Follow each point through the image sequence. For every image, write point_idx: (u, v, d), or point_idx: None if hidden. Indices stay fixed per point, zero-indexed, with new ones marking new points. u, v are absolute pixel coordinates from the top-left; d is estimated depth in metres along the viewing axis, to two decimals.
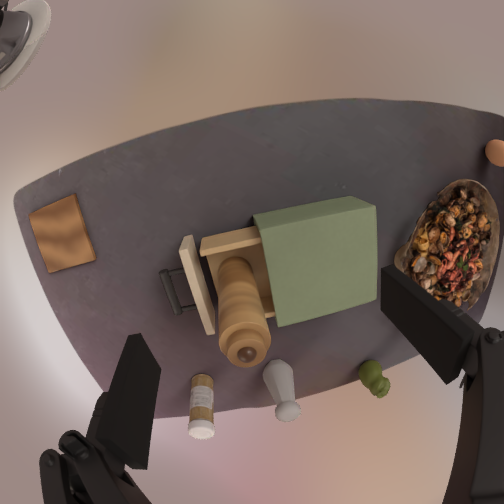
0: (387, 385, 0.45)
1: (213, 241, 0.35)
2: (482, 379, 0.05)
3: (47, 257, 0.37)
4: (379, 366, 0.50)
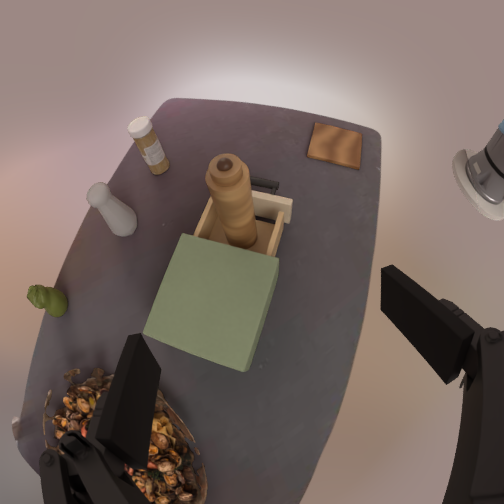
0: (35, 302, 0.35)
1: (281, 229, 0.42)
2: (482, 379, 0.05)
3: (326, 127, 0.55)
4: (55, 313, 0.40)
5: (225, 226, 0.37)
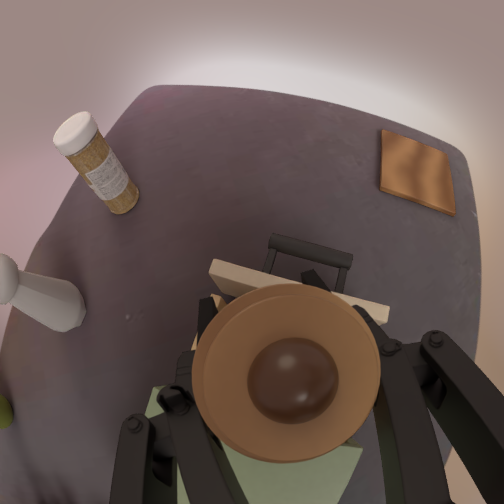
0: None
1: None
2: (385, 397, 0.07)
3: (400, 140, 0.31)
4: None
5: None
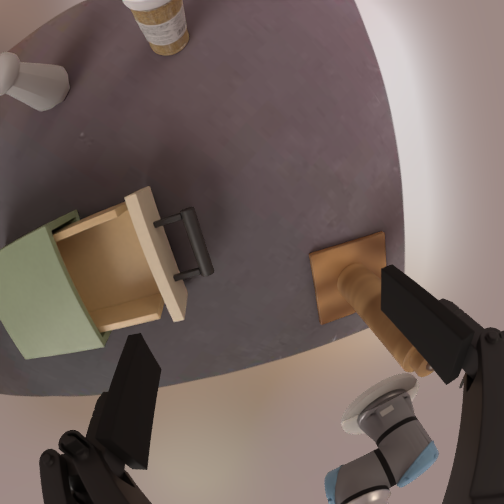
0: None
1: None
2: (482, 379, 0.05)
3: (378, 253, 0.34)
4: None
5: (363, 309, 0.28)
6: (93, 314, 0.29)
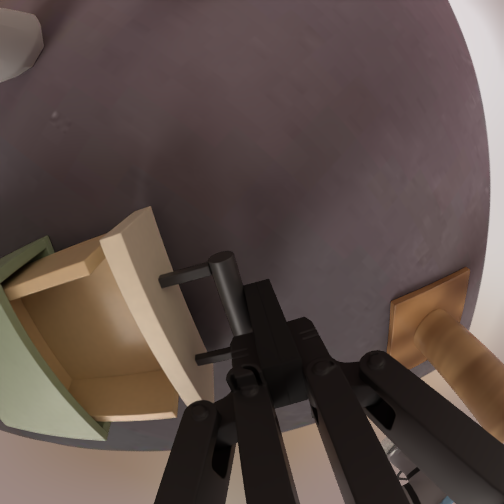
0: None
1: None
2: (323, 419, 0.07)
3: (460, 294, 0.23)
4: None
5: (455, 375, 0.17)
6: (78, 387, 0.18)
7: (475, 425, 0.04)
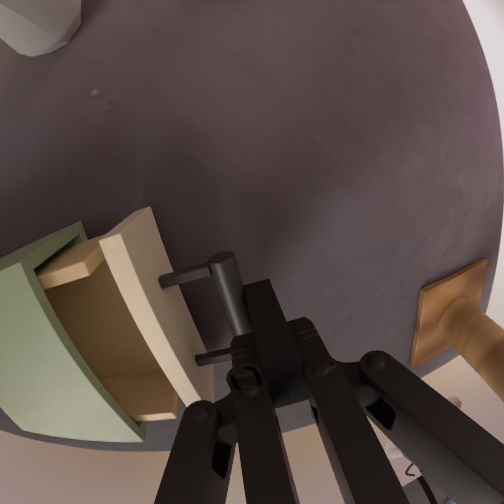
0: None
1: None
2: (323, 419, 0.07)
3: (478, 284, 0.23)
4: None
5: (480, 357, 0.17)
6: None
7: (475, 425, 0.04)
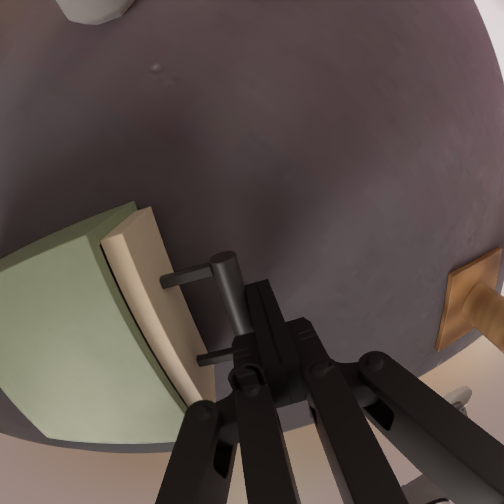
0: None
1: None
2: (321, 420, 0.07)
3: (495, 270, 0.23)
4: None
5: (503, 335, 0.17)
6: None
7: (474, 426, 0.04)
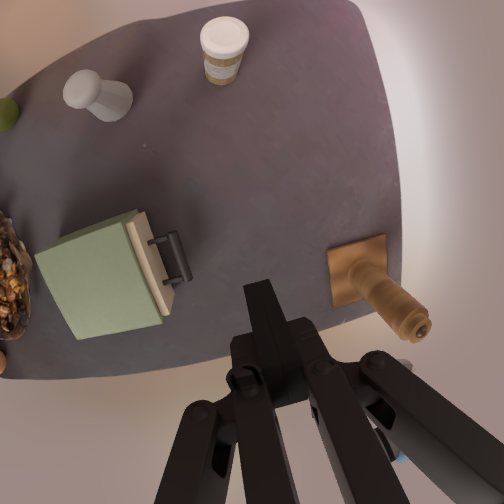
0: None
1: None
2: (323, 419, 0.07)
3: (381, 251, 0.43)
4: None
5: (368, 293, 0.37)
6: None
7: (475, 425, 0.04)
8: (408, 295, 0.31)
